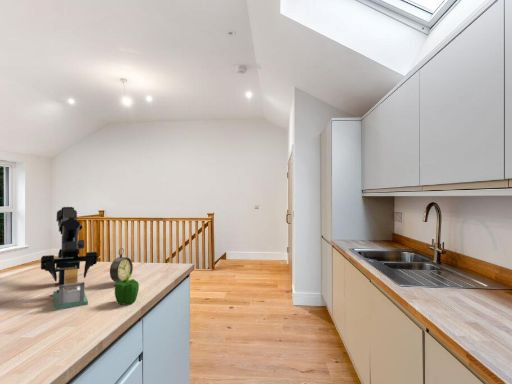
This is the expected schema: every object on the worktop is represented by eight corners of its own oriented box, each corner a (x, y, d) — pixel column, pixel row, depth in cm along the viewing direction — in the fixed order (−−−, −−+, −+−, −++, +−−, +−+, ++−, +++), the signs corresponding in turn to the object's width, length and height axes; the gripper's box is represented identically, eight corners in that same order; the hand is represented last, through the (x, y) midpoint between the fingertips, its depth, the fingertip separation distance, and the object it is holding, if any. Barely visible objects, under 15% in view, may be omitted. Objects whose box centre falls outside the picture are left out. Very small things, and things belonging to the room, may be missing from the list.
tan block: (63, 296, 109) (64, 268, 109) (76, 294, 111) (77, 267, 112) (65, 305, 101) (66, 274, 101) (78, 302, 103) (79, 273, 103)
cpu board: (53, 294, 116) (54, 274, 116) (82, 290, 122) (83, 271, 122) (54, 310, 100) (55, 286, 100) (87, 304, 105) (88, 282, 106)
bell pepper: (127, 308, 103) (128, 279, 103) (109, 305, 105) (110, 277, 106) (143, 300, 111) (144, 274, 111) (126, 297, 113) (127, 272, 114)
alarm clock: (117, 287, 126) (118, 250, 126) (106, 286, 127) (107, 249, 127) (133, 281, 136) (134, 246, 137) (123, 280, 138) (123, 245, 138)
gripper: (41, 234, 109) (40, 270, 100) (98, 231, 120) (101, 264, 111) (41, 252, 115) (39, 287, 106) (94, 248, 126) (97, 279, 117)
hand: (70, 278), depth 110 cm, fingers open, 9 cm apart
